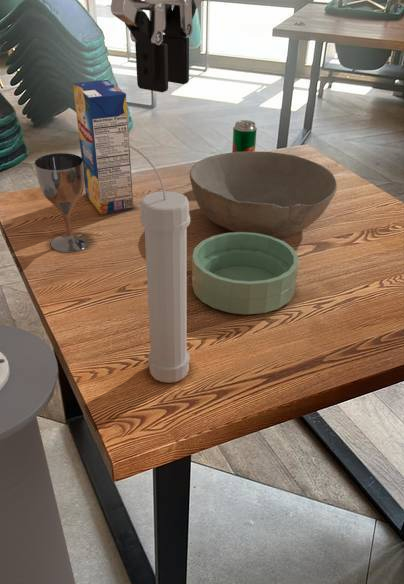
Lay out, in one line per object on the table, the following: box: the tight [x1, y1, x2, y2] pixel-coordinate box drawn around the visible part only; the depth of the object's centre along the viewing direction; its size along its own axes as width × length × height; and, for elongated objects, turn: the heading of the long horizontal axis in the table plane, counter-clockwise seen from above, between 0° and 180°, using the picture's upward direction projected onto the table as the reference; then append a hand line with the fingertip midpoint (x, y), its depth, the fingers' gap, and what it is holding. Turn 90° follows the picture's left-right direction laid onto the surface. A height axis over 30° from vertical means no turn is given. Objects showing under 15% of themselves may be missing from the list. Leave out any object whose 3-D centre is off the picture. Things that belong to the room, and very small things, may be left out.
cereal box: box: [72, 79, 134, 215], centre depth 113 cm, size 7×11×22 cm, turn 25°
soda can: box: [231, 119, 258, 153], centre depth 127 cm, size 5×5×12 cm
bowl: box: [189, 150, 338, 238], centre depth 110 cm, size 28×28×10 cm
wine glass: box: [34, 152, 91, 253], centre depth 100 cm, size 8×8×15 cm
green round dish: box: [191, 231, 299, 315], centre depth 92 cm, size 17×17×6 cm
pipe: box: [129, 144, 191, 384], centre depth 68 cm, size 6×6×30 cm
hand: (163, 83), depth 55 cm, fingers closed
